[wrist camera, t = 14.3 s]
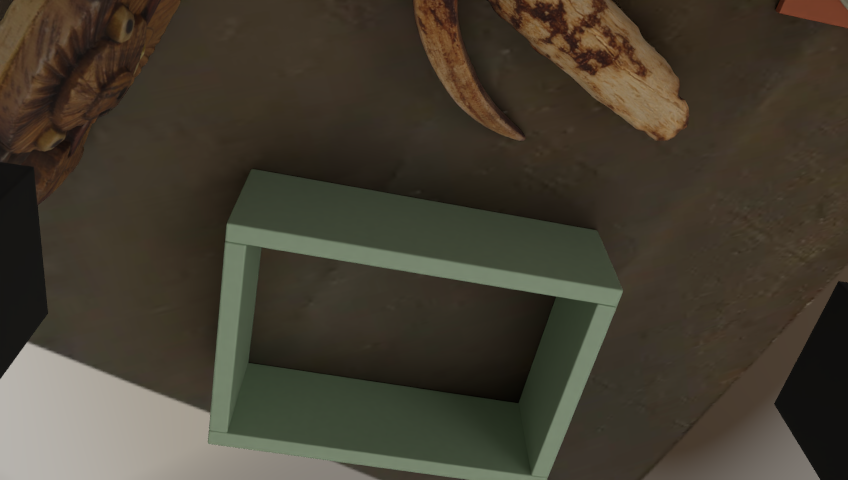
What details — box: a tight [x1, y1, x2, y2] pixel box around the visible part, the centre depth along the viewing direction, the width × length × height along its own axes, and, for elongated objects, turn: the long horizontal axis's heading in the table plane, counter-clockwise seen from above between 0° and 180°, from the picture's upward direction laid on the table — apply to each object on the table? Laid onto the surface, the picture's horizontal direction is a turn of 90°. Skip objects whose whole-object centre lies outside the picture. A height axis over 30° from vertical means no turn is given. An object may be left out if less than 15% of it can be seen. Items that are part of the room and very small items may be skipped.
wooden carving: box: [0, 0, 181, 205], centre depth 31 cm, size 16×5×10 cm, turn 147°
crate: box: [208, 169, 623, 480], centre depth 41 cm, size 14×19×6 cm
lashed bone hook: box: [413, 0, 689, 141], centre depth 34 cm, size 9×5×18 cm
